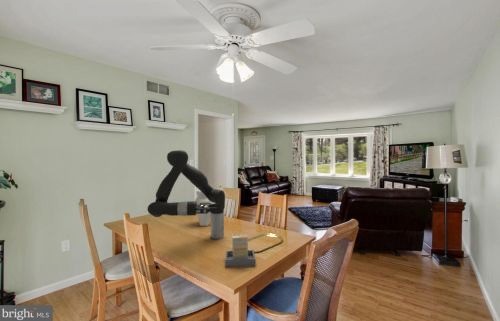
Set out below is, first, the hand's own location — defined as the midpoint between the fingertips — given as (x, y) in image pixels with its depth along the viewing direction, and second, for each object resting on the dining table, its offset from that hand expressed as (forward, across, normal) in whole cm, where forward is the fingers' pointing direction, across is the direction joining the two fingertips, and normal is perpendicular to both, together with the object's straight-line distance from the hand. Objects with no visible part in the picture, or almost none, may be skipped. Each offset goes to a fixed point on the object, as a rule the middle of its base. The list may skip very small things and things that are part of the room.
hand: (217, 207), depth 131 cm
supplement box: (+12, -2, +29) cm, 31 cm away
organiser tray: (+12, -2, +29) cm, 32 cm away
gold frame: (+26, +21, +30) cm, 45 cm away
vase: (-15, +66, +30) cm, 74 cm away
